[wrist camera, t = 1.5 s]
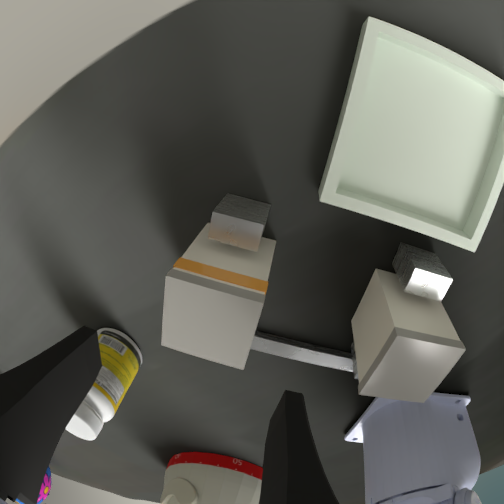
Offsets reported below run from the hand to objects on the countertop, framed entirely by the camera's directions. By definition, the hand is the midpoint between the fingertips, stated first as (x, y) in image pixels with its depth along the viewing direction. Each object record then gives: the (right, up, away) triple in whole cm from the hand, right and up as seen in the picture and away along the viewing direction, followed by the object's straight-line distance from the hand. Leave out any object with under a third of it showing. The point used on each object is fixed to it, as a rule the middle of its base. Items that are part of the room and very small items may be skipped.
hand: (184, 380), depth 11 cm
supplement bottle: (-9, -3, +14) cm, 17 cm away
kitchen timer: (-1, -24, +23) cm, 33 cm away
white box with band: (+1, +4, +8) cm, 9 cm away
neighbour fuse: (+11, +1, +8) cm, 14 cm away
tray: (+11, +11, +3) cm, 16 cm away
